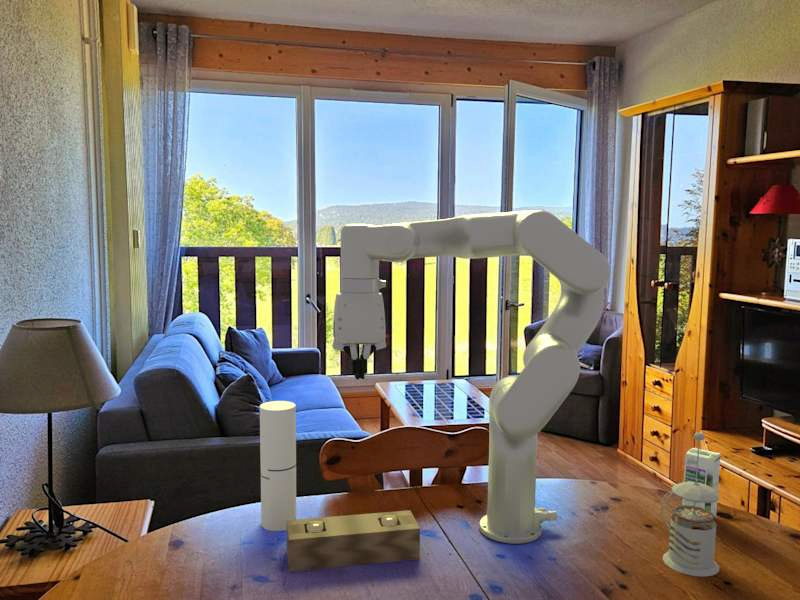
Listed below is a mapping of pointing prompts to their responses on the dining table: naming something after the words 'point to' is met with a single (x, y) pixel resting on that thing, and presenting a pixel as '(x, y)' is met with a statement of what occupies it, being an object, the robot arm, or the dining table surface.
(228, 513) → the dining table surface
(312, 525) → the outer brass pin
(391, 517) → the inner brass pin
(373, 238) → the robot arm
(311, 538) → the tan peg holder block
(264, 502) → the cylindrical container
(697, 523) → the french press
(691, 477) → the syrup box
